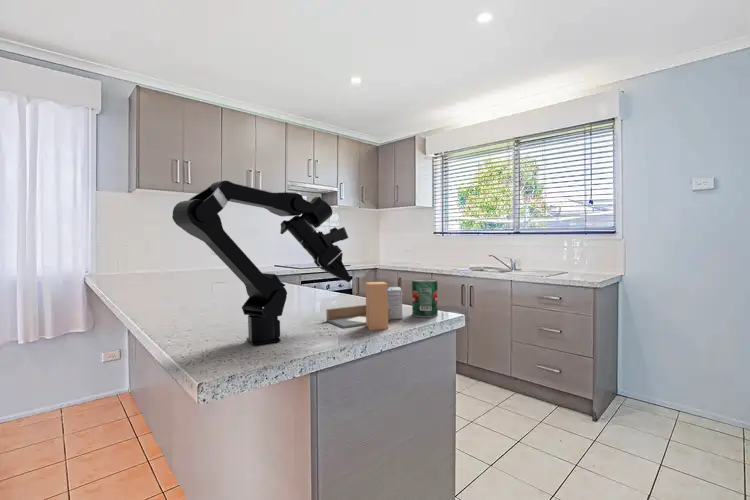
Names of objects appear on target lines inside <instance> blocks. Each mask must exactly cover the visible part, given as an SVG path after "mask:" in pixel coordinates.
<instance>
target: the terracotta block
mask: <svg viewBox="0 0 750 500" xmlns="http://www.w3.org/2000/svg"><path fill="white" fill-rule="evenodd" d="M365 305H366V325H365V326H366V328H367V329H368V330H371V331H372V330H373V331H374V330H386V329H387V330H388V329H389V322H388V283H387V282H385V281H371V282H370V281H368V282H367V281H366V282H365Z"/></svg>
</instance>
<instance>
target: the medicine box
mask: <svg viewBox="0 0 750 500" xmlns="http://www.w3.org/2000/svg"><path fill="white" fill-rule="evenodd" d="M388 309H390V320H402V319H403V291H402V288H401V286H390V287H388Z"/></svg>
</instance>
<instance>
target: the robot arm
mask: <svg viewBox="0 0 750 500" xmlns="http://www.w3.org/2000/svg"><path fill="white" fill-rule="evenodd" d="M228 202H231V203H236V204H242V205H246V206H252V207H258V208H260V209H261V208H262V209H265V210H267V211H268V212H270V213H272V214H274V215H276V216H279V217H291V218H290V219H289V220H285V219H284V220H283V221H281V223H280V234H281V235H284V234H285V233H286V232H287V231H288V232H289V233H290V235H292V236H293V237H294V239H295V240H296V242H298V243H299V244H300V245H301V246H302V248H303V249H304V250H305V251H306V252H307V254H309V255H310V256H311V257H312V259H313V263H314V264H315V266H316V267H317V268H319V269H320V270H322V271H324V272H326V273H328V274H330V275H332V276H334V277H336V278H337V279H339V280H342V281H345V282H347V283H350V282H351V281H352V277H351V276H350V274H349V272H348V270H347V268H346V266H345V265H344V263H343V261H342V260H343V254H344V253H343V252H342V251H343V250H342V249H341V248H340V247H339V246H338V245H336V244H335V243H338V242H341V241H344V240H348V239H349V235H348V232H347V230H346V227H345V226H343V227H340V228H337V227H336V226H334V227H333V228H330V229H329V232H328V233H327V232H326V233H325V234H324V233H323V231H320V230H318V229H317V228H319V227H320V226H322V225H323V223H325V222H326V221H328V219H330V218H331V217H332V215H333V208H332V207H331V205H329V204H328V202H326V201H324V200H322V198H321V196H315V197H313V198H312V199H311V200H310V201H308V200H307V199H304V197H303V195H302V194H301V193H299V192H294V191H293V192H289V191H287V192H284V191H283V192H273V191H268V190H264V189H261V188H260V189H259V188H255V187H251V186H248V185H247V186H246V185H243V184H240V183H234V182H232V181H230V180H221V181H215V182H213V183H212V184H211V185H209V186H208V187H207V188H206V189H203V190H202V191H200V192H199V193H198V194H196V195H194V196H192V197H190V198H189V199H188V200H183V201H180V202H178V203H176V204H175V206H174V207H173V210H172V220H173V222H174V223H175V225H176V226H178V227H179V228H181V229H182V230H183V231H185V232H186V233H187V234H189V235H190V236H192V237H194V238H197V239H199V240H200V241H202V242H203V243H204V244H206V246H207V247H208V248H209V249H210V250H211V251H212V252H213V253H214V254H215V255H216V256H217V257H218V258H219V259H220V260H221V261H222V263H223V264H225V265H226V266H227V268H228V269H230V271H231V272H232V273H233V274H234V275H235V277H236V278H238V279H239V280H240V282H242V283H243V284H244V286H245V290H246V293H247V296H248V298H247V299H246V301H245V302H244V303H243V305H242V306H241V309H242V313H243V315H245V316H247V321H248V322H247V325H248V326H247V327H248V331H247V332H248V335H247V336H248V337H246V341H247V342H249V343H250V345H252V346H259V345H266V344H271V343H278V342H281V338H280V337H281V320H280V319H278V317H280V316H282V315H283V312H284V309H285V303H286V301H287V295H288V291H287V289H286V288H285V287H286V284H285V283H283V282H282V281H281V280H280V279H279V276H277V274H275V273H264V272H262V271H261V270H260V269H259V268H258V267H257V265H255V263H254V262H253V261H252V260H251V259H250V258H249V256H248V255H246V253H245V252H244V251H243V250H242V248H240V247H239V245H237V243H236V242H235V241H234V239H232V238H231V237H230V236H229V234H228V233H227V232H226V231H225V229H224V227H223V224H222V219H221V217H220V215H219V213H220V212H222V210H223V209H224V208H225V207H226V206H227V204H228Z"/></svg>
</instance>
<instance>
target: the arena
mask: <svg viewBox="0 0 750 500" xmlns="http://www.w3.org/2000/svg"><path fill="white" fill-rule="evenodd" d="M325 311H326V322H328V323H331V324H333V325H335V326H338V327H339V328H342V329H348V328H354V327H355V328H356V327H360V326H361V327H362V326H366V304H361V305H359V304H358V305H352V306H342V307H333V308H326V310H325ZM389 322H391V319H390V309H388V323H389Z"/></svg>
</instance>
